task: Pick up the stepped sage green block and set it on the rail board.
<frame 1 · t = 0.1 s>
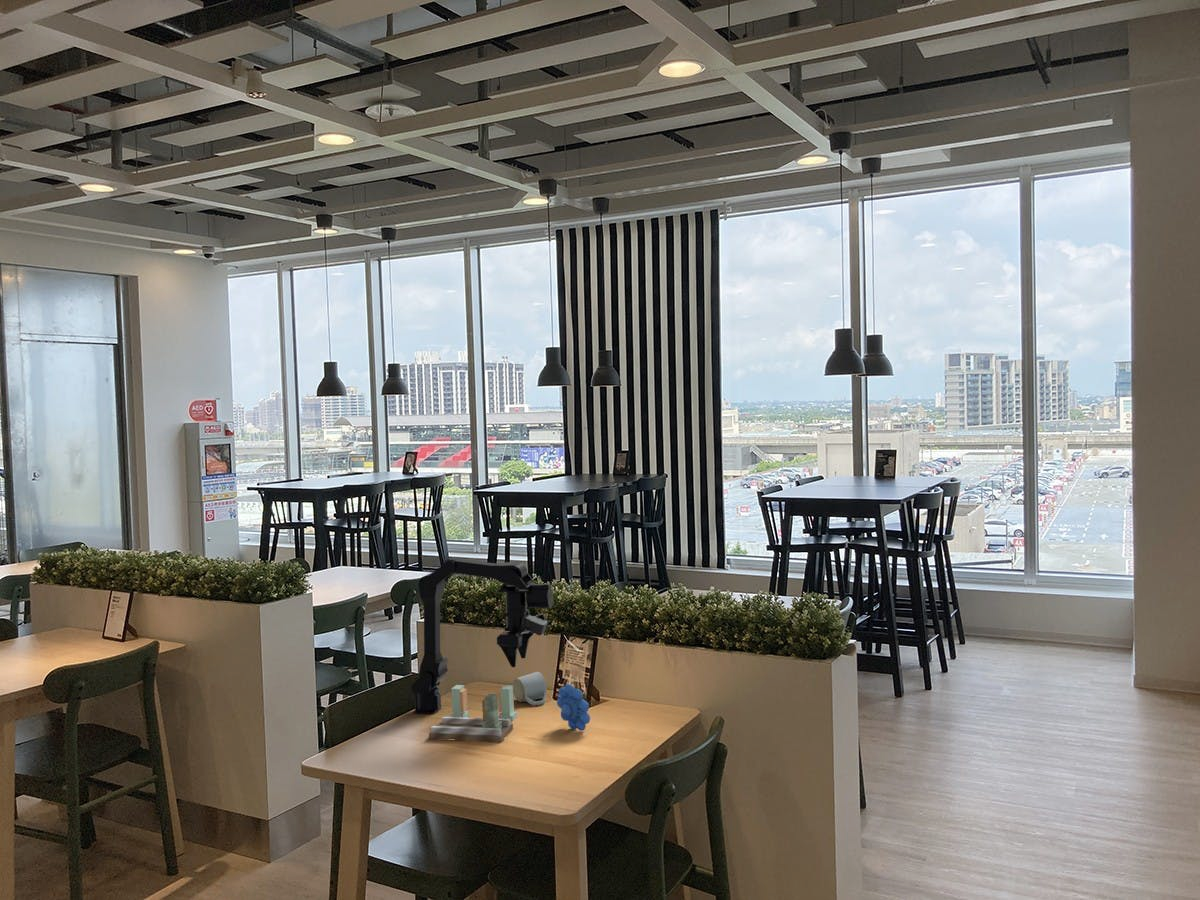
hand: (518, 662, 272), 15 cm above the table, tool pointing down, fingers open, 9 cm apart
rail board: (471, 734, 257), on the table
stepped sage green block: (459, 718, 271), on the table
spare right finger: (508, 719, 269), on the table
grapes: (571, 731, 257), on the table
ceramic mug: (532, 701, 285), on the table
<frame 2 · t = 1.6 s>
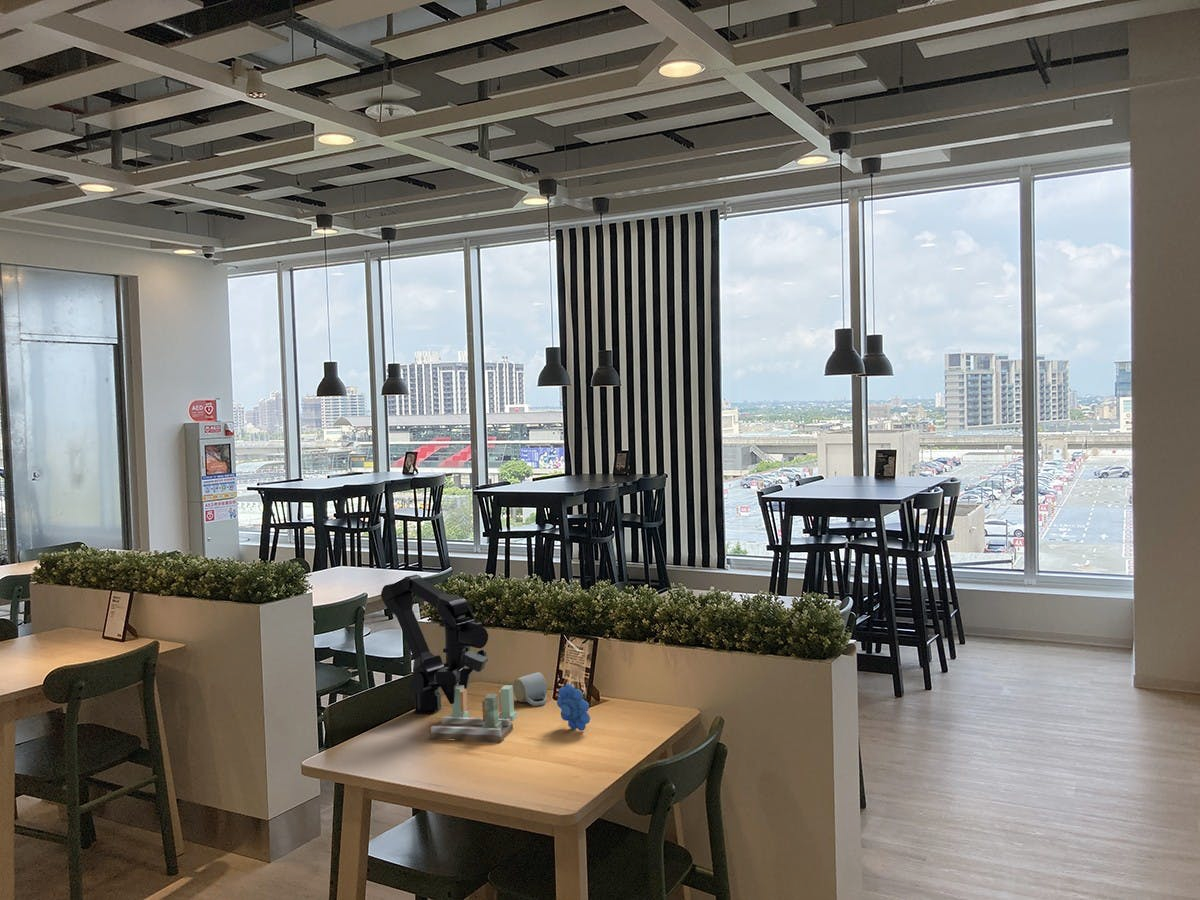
hand: (458, 698, 271), 6 cm above the table, tool pointing down, fingers open, 9 cm apart
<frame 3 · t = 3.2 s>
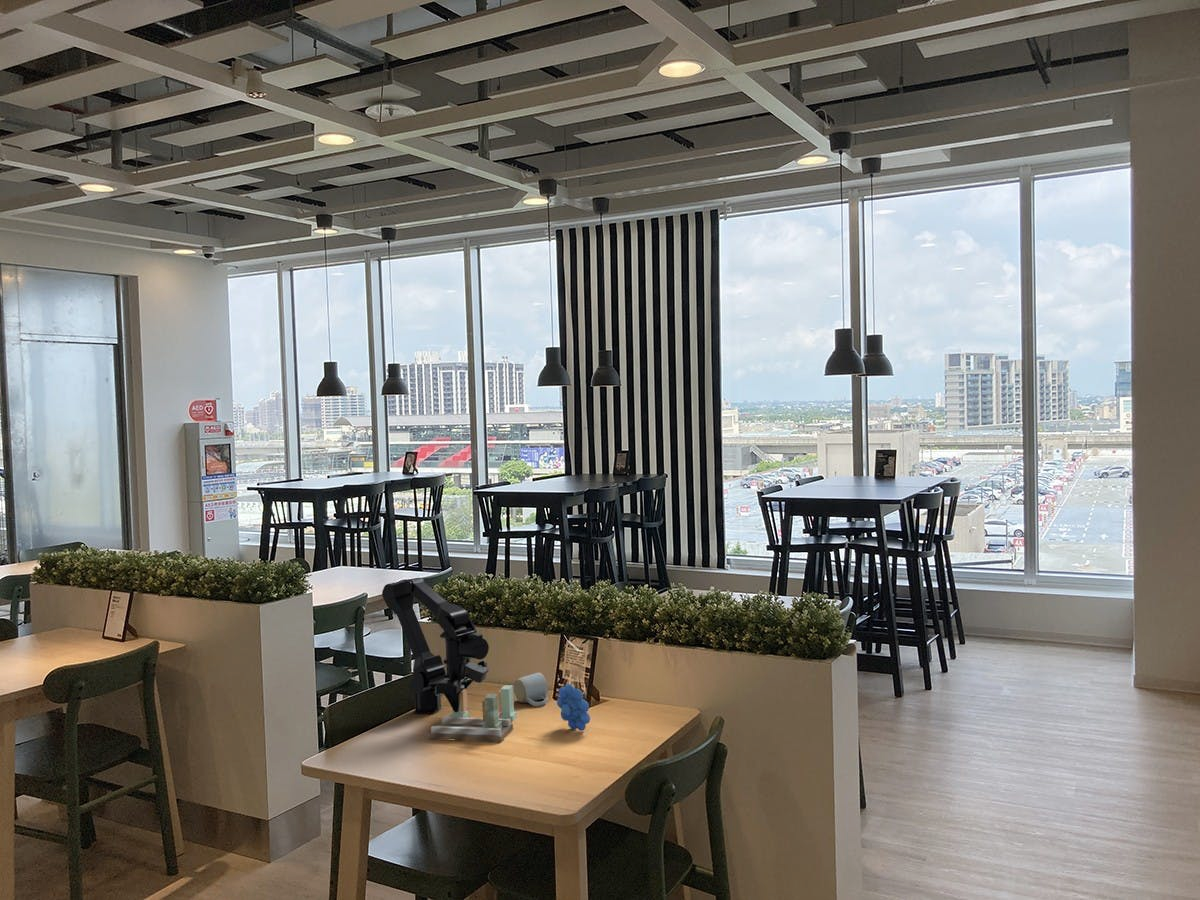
hand: (458, 709, 271), 3 cm above the table, tool pointing down, fingers closed on stepped sage green block, 4 cm apart
stepped sage green block: (459, 718, 271), on the table, touching gripper
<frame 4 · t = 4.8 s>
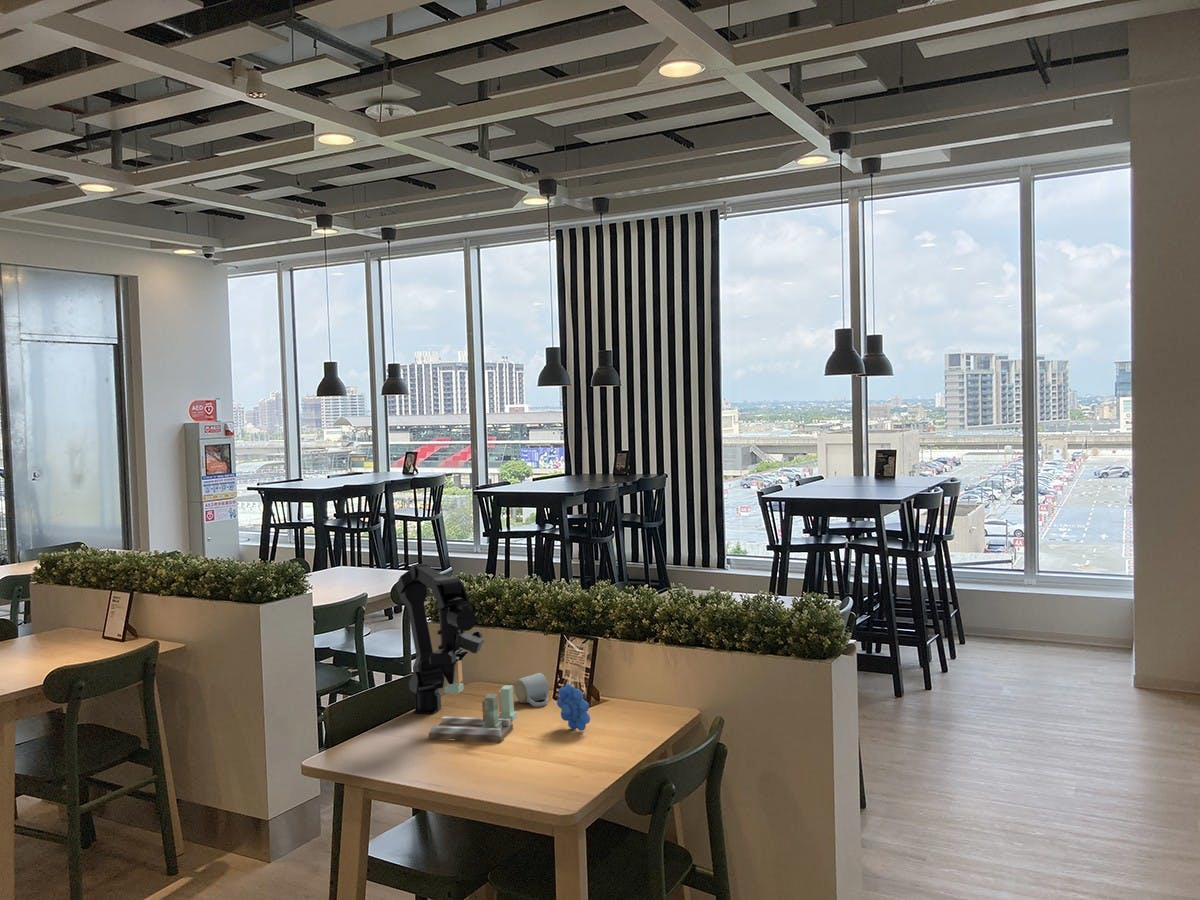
hand: (453, 681, 263), 12 cm above the table, tool pointing down, fingers closed on stepped sage green block, 4 cm apart
stepped sage green block: (454, 691, 263), point 10 cm above the table, touching gripper
when the fingers open (5 cm above the table, at t = 6.4 s): stepped sage green block stays where it is, resting on rail board.
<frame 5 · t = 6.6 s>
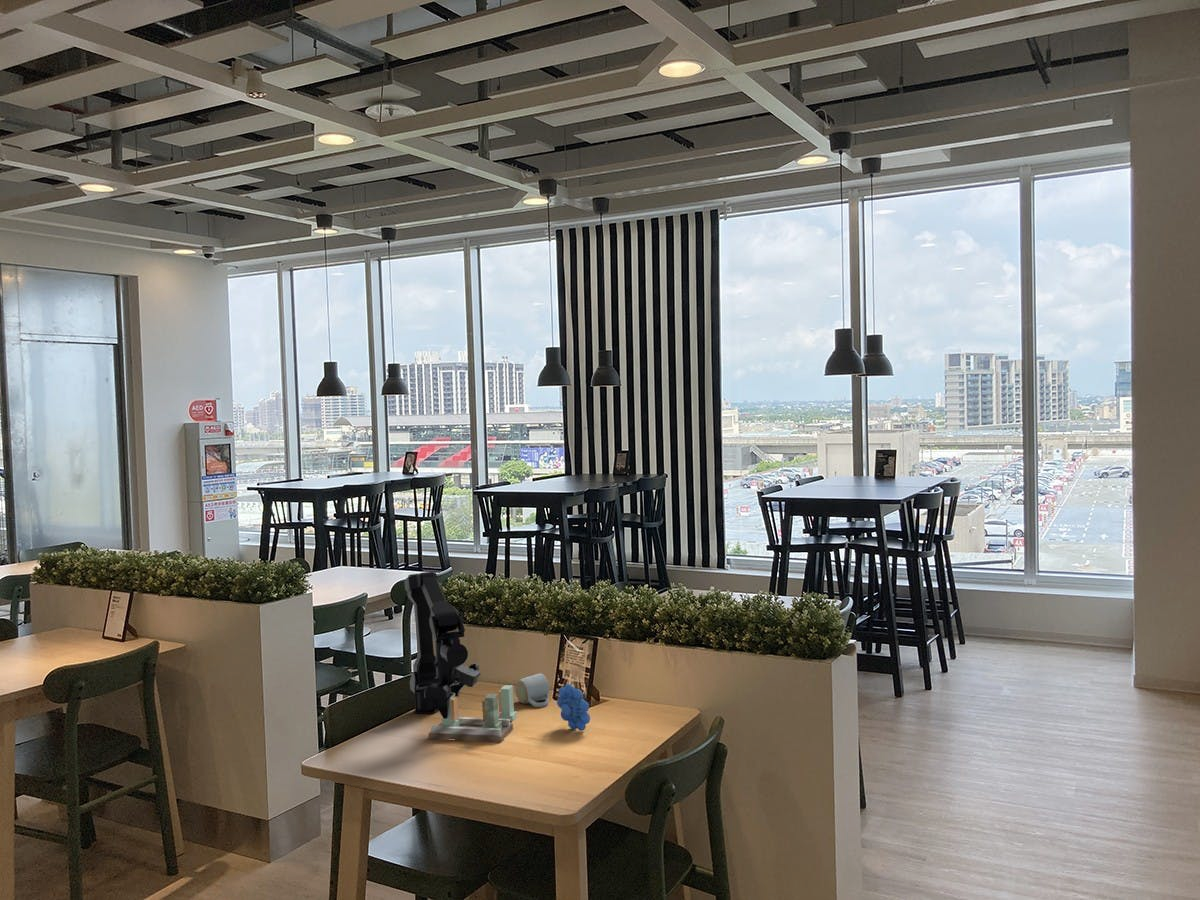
hand: (449, 714, 258), 5 cm above the table, tool pointing down, fingers open, 5 cm apart
stepped sage green block: (450, 727, 259), point 2 cm above the table, touching rail board
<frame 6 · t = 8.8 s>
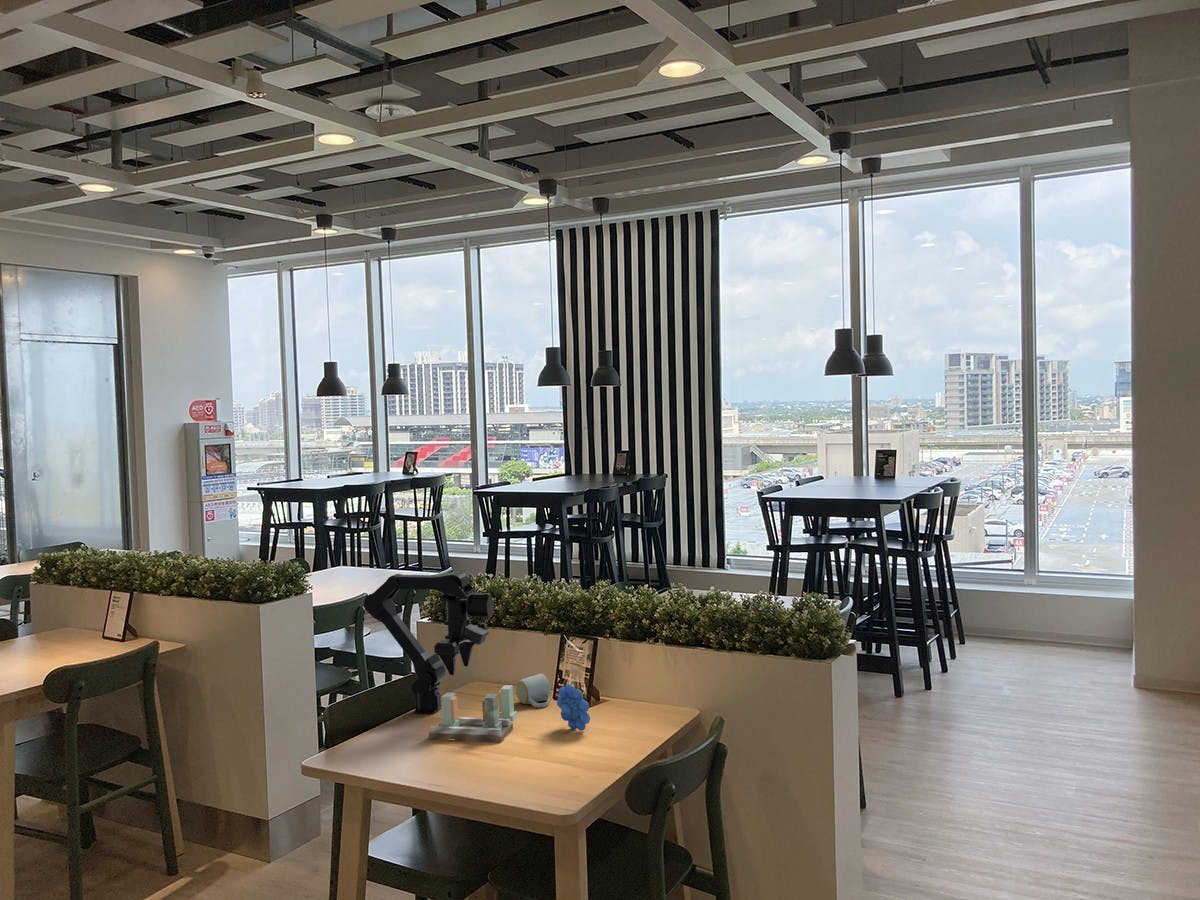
hand: (459, 670, 276), 12 cm above the table, tool pointing down, fingers open, 9 cm apart
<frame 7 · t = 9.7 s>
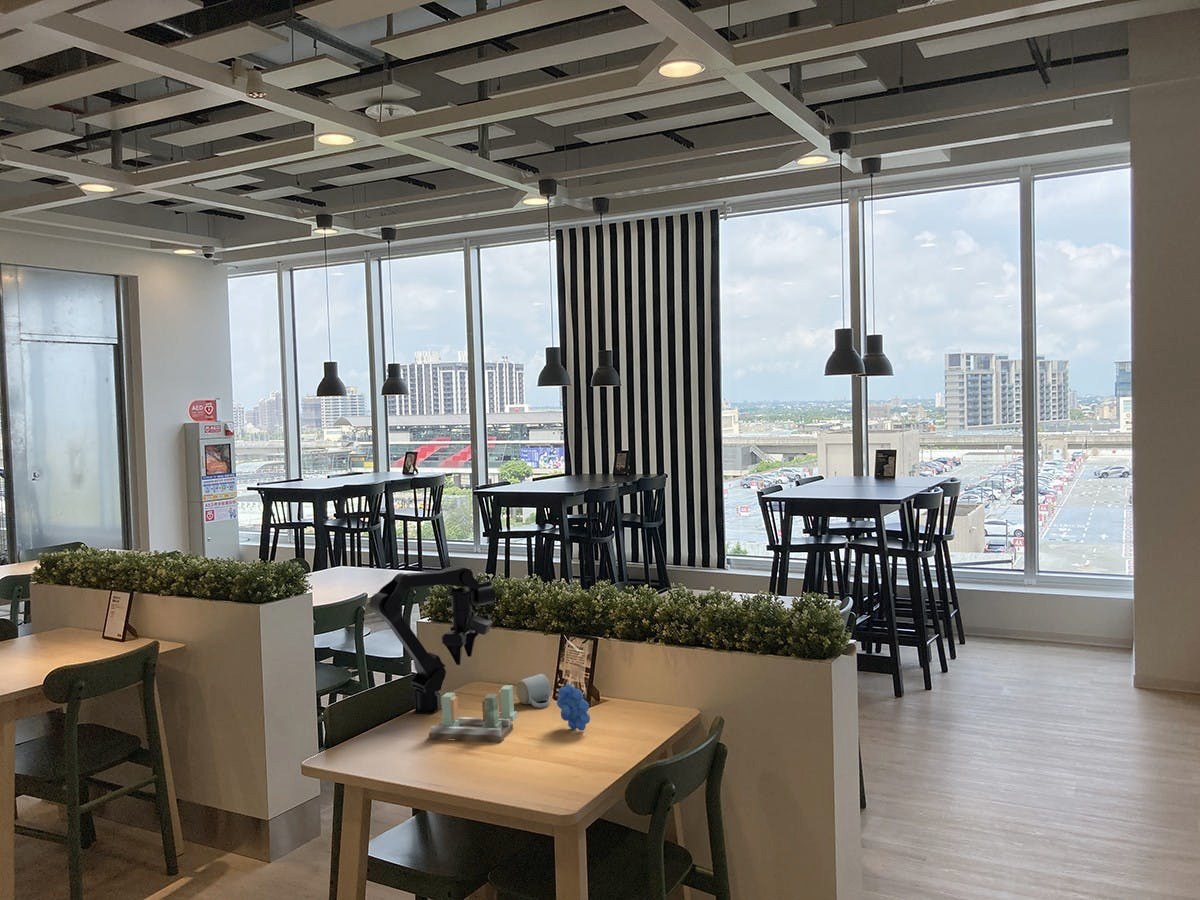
hand: (464, 660, 287), 12 cm above the table, tool pointing down, fingers open, 9 cm apart
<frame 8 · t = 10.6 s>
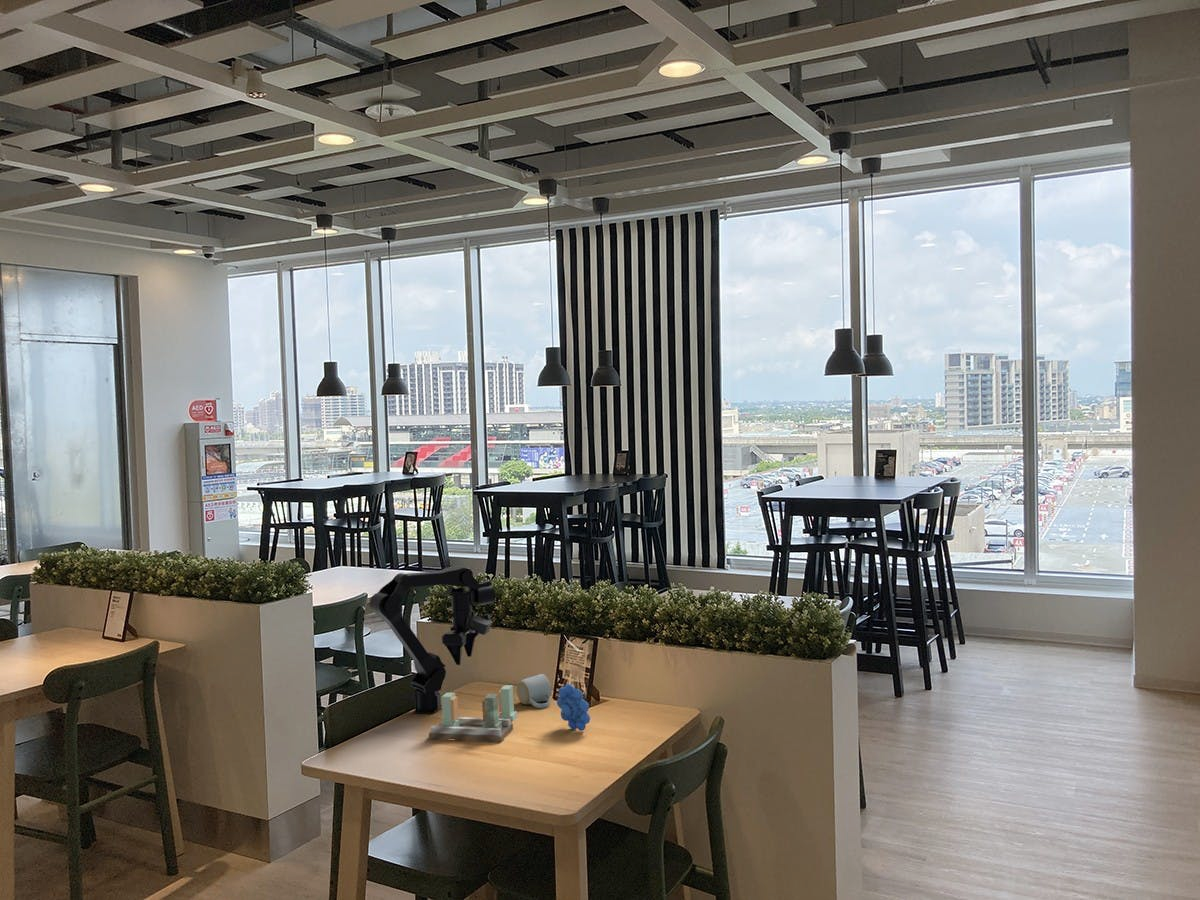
hand: (464, 660, 287), 12 cm above the table, tool pointing down, fingers open, 9 cm apart
at the end: stepped sage green block 0.0 cm from the target spot on the rail board, point 1.5 cm above the rail board's base; stepped sage green block tilted 0°; the gripper is holding nothing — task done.
